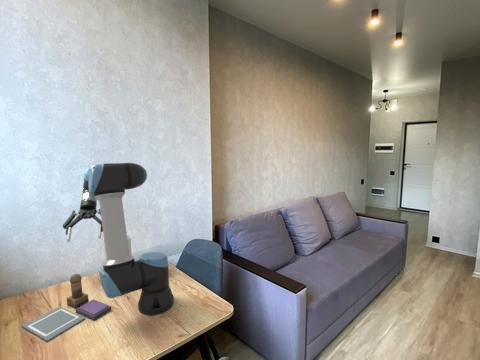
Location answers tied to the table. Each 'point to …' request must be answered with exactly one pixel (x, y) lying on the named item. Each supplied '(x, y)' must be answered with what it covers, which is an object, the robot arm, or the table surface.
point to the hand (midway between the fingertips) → (84, 238)
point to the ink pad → (93, 309)
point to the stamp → (76, 293)
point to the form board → (53, 323)
